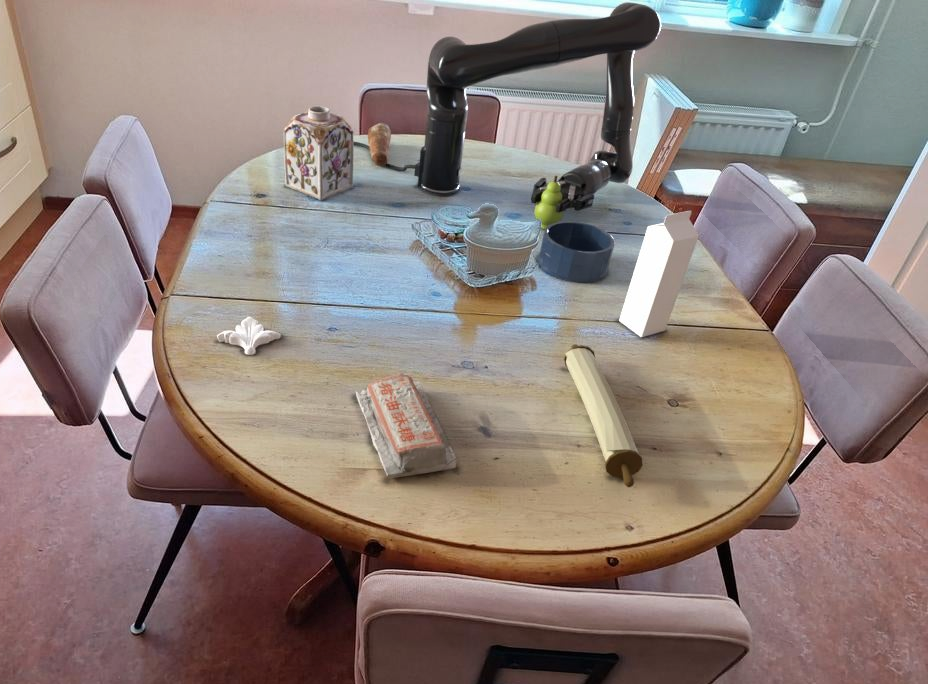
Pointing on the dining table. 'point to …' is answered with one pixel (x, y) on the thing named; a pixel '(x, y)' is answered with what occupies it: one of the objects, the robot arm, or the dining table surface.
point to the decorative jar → (318, 153)
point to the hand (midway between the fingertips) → (545, 203)
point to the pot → (576, 251)
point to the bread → (379, 143)
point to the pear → (549, 204)
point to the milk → (659, 274)
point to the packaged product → (404, 427)
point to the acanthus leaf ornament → (248, 335)
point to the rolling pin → (604, 414)
